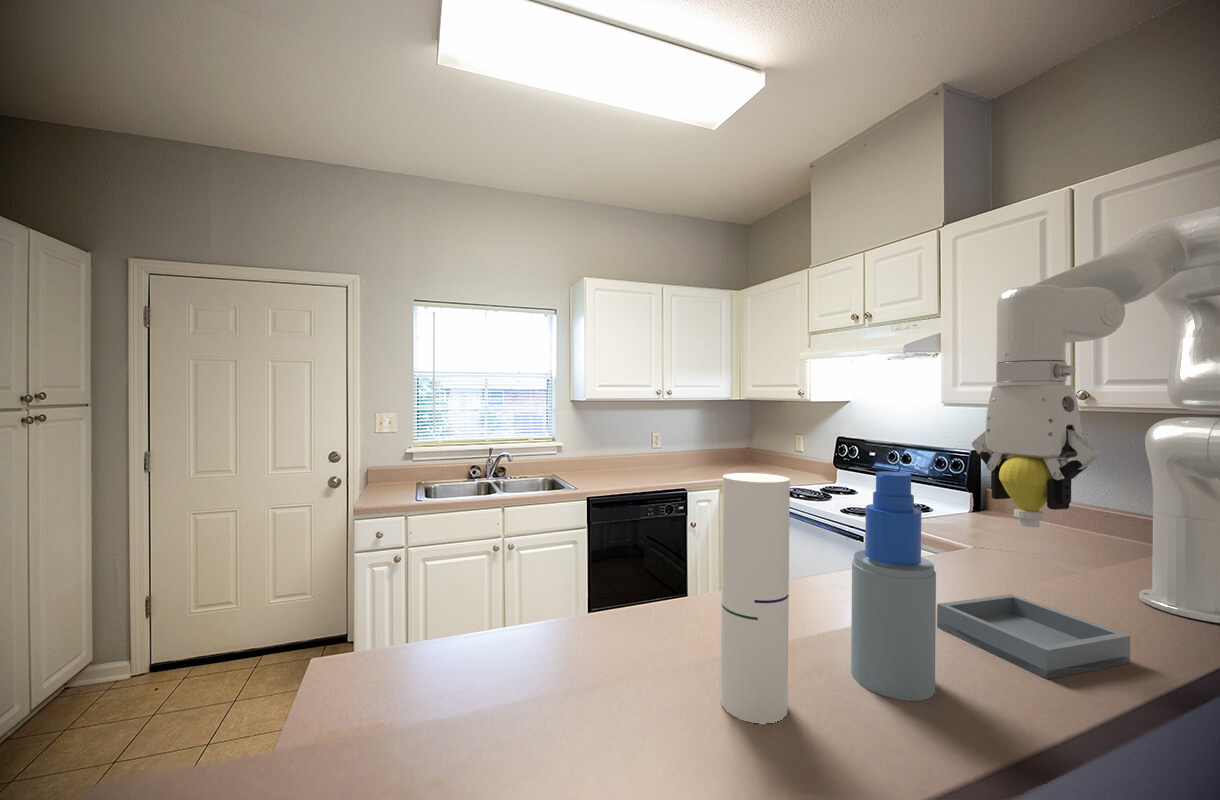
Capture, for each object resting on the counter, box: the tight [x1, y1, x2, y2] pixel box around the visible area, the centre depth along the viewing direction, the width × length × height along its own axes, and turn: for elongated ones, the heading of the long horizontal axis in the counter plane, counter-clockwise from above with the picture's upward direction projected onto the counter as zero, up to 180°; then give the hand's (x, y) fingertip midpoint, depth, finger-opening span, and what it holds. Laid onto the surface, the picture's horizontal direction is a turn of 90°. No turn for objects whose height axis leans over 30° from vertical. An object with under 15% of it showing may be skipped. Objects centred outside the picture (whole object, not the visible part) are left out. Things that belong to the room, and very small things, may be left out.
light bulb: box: [999, 456, 1053, 528], centre depth 72 cm, size 7×7×10 cm
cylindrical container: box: [719, 472, 791, 725], centre depth 57 cm, size 7×7×25 cm
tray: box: [936, 594, 1131, 680], centre depth 72 cm, size 15×15×4 cm
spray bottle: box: [850, 471, 937, 702], centre depth 62 cm, size 9×9×25 cm
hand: (1028, 502), depth 72 cm, fingers closed on light bulb, 6 cm apart
